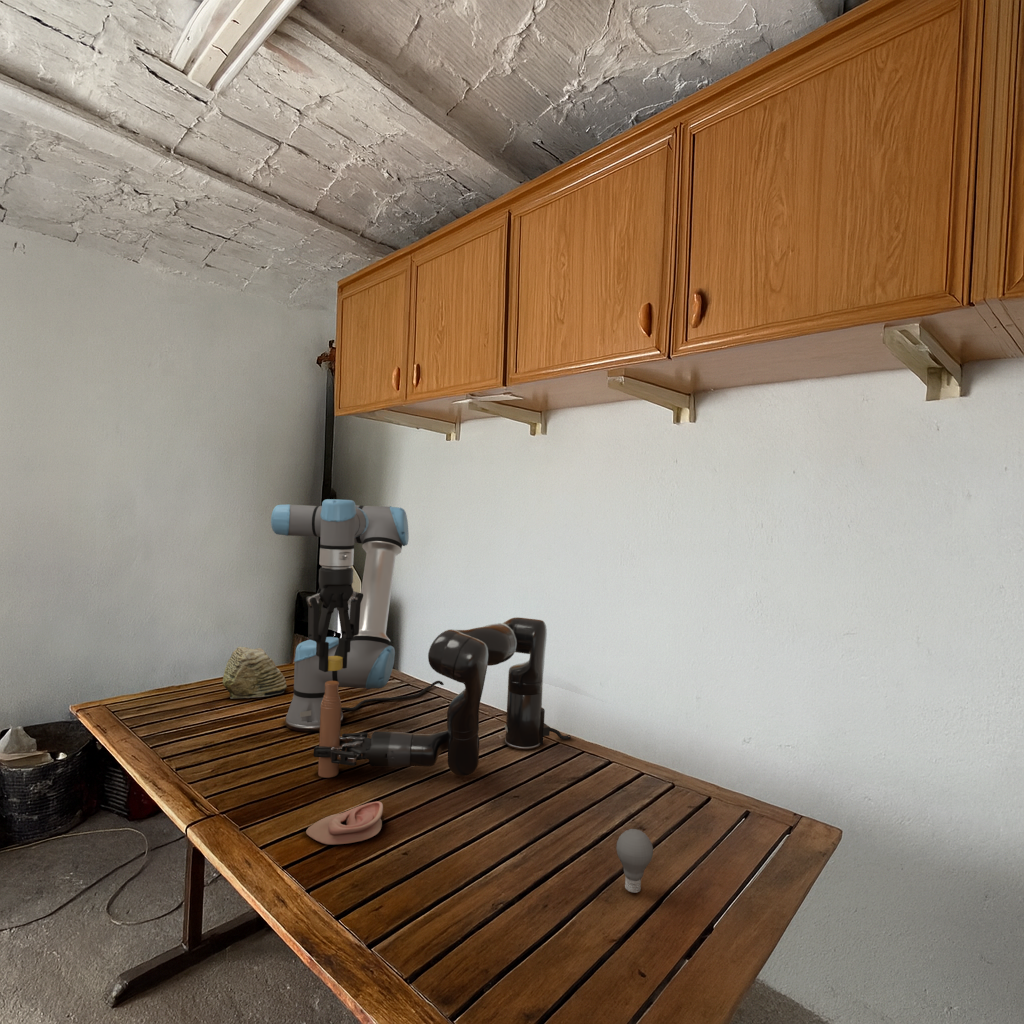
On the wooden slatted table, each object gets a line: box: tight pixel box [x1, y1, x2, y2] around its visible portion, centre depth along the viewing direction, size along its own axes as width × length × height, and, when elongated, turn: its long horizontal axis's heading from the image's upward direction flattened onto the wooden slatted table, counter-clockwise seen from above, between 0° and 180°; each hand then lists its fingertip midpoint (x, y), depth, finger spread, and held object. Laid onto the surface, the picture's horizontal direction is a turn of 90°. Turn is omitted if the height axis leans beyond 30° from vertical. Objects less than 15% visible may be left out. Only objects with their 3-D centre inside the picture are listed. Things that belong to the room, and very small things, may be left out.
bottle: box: [317, 681, 342, 779], centre depth 145 cm, size 5×5×21 cm
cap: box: [328, 656, 343, 671], centre depth 145 cm, size 4×4×2 cm
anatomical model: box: [305, 800, 384, 846], centre depth 121 cm, size 13×4×12 cm
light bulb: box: [615, 828, 654, 894], centre depth 106 cm, size 6×6×10 cm
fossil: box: [222, 646, 288, 699], centre depth 198 cm, size 9×18×15 cm, turn 132°
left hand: (332, 668), depth 145 cm, fingers closed on cap, 4 cm apart
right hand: (317, 747), depth 145 cm, fingers closed on bottle, 4 cm apart
